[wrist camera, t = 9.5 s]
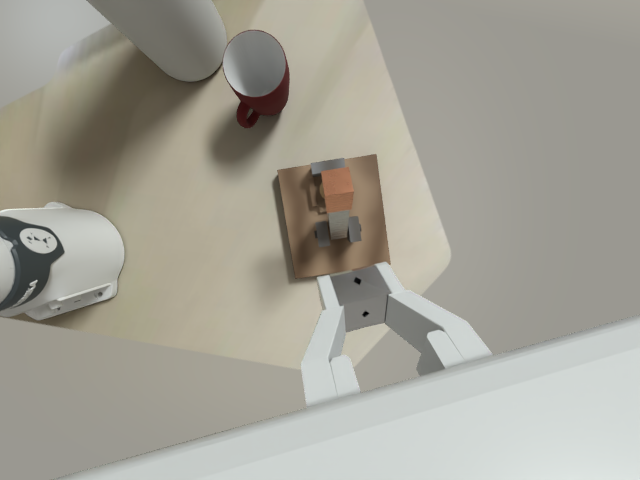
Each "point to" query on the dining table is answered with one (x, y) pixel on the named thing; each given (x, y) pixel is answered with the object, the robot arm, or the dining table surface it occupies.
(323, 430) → the robot arm
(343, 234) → the lever
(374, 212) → the bench
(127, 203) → the dining table surface
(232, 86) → the mug
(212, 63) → the cylinder vase
